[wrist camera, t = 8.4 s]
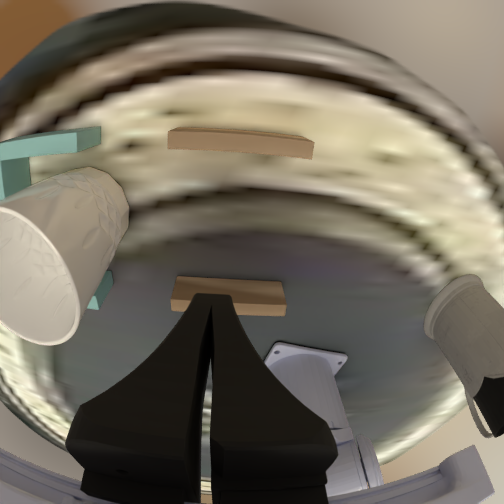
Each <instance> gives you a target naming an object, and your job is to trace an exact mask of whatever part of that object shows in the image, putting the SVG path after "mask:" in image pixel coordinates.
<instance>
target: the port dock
mask: <svg viewBox="0 0 504 504" xmlns="http://www.w3.org/2000/svg"><path fill="white" fill-rule="evenodd" d="M98 144H101V127H90V128H79V129H69V130H60V131H53V132H45V133H38V134H32V135H26V136H20V137H15V138H12V139H9V140H5V141H2V142H0V200H2V199H4V198H6V197H8V196H10V195H12V194H14V193H16V192H18V191H20V190H22V189H24V188H26V187H28V186H30V185H31V181H30V170H29V158H28V157H32V156H42V155H52V154H63V153H77V152H79V151H82V150H85V149H87V148H90V147H93V146H95V145H98ZM112 285H113V278H112V272H111V271H106V272H105V274H104V276H103V279H102V281H101V282H100V284H99V286H98V288H97V289H96V291H95V293H94V295H93V297H92V299H91V301H90V303H89V305H88V307H87V308H89V309H97V310H99V309H100V307H101V305H102V303H103V301H104V300H105V298H106V296H107V294H108V292H109V291H110V289H111V287H112Z"/></svg>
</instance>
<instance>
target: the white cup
mask: <svg viewBox="0 0 504 504" xmlns="http://www.w3.org/2000/svg"><path fill="white" fill-rule="evenodd" d="M128 223H129V205H128V203H127V200H126V198H125V195H124V192H123V190H122V188H121V186H120V185H119V184H118V183H117V182H116V181H115V180H114V179H113V178H112V177H111V176H110V175H109V174H108V173H106V172H103V171H100V170H98V169H95V168H92V167H84V168H79V169H73V170H70V171H68V172H65V173H62V174H58V175H55V176H52V177H50V178H47V179H45V180H42V181H39V182H37V183H35V184H33V185H30V186H28V187H26V188H24V189H22V190H20V191H18V192H16V193H14V194H12V195H10V196H8V197H6V198H4V199H2V200H0V323H1V324H2V325H4V326H5V327H6V328H7V329H8V330H10V331H11V332H13V333H14V334H16V335H17V336H19V337H21V338H23V339H25V340H27V341H30V342H33V343H36V344H40V345H57V344H61V343H63V342H65V341H67V340H68V339H70V338H71V337H72V336H73V334H74V333H75V331H76V330H77V328H78V325H79V323H80V321H81V319H82V317H83V315H84V313H85V311H86V309H87V307H88V305H89V303H90V301H91V299H92V297H93V295H94V293H95V291H96V289H97V288H98V286H99V284H100V282H101V281H102V279H103V276H104V274H105V272H106V270H107V268H108V267H109V265H110V263H111V260H112V259H113V257H114V255H115V253H116V248H117V247H118V245H119V243H120V241H121V240H122V238H123V236H124V234H125V232H126V231H127V229H128Z"/></svg>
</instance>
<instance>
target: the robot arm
mask: <svg viewBox="0 0 504 504" xmlns="http://www.w3.org/2000/svg"><path fill="white" fill-rule="evenodd" d="M210 359H211V367H212V383H213V389H212V407H211V424H210V453H211V491H212V502H213V504H479V503H481V502H483V501H484V500H486V499H487V498H489V497H490V496H492V495H493V494H494V492H495V491H494V489H493V486H492V483H491V481H490V479H489V476H488V474H487V471H486V469H485V467H484V465H483V462H482V460H481V458H480V456H479V453H478V451H477V449H476V447H475V445H472V446H470V447H468V448H465V449H464V450H461V451H459V452H457V453H455V454H453V455H451V456H449V457H448V458H446V459H445V460H444V461H443V462H441V463H440V465H439V466H437V467H434V468H431V469H429V470H426V471H423V472H421V473H418V474H415V475H412V476H409V477H406V478H403V479H400V480H397V481H394V482H390V483H387V484H384V482H383V478H382V474H381V470H380V466H379V463H378V460H377V456H376V453H375V450H374V447H373V445H372V442H371V440H370V438H368V437H365V436H363V435H362V434H360V435H358V436H356V439H357V443H358V450H359V453H360V457H361V459H360V457H359V454H358V450H357V447H356V443H355V440H354V437H353V433H352V430H351V427H349V423H348V420H347V417H346V413H345V410H344V407H343V404H342V400H341V397H340V394H339V391H338V387H337V384H336V381H335V378H334V375H335V374H336V373H337V372H338V371H339V369H340V368H341V367H342V366H343V364H344V363H345V362H346V360H347V355H346V354H341V353H335V352H329V351H323V350H318V349H312V348H307V347H301V346H296V345H291V344H286V343H281V342H278V343H275V344H274V345H273V347H272V349H271V350H270V352H269V354H268V356H267V357H266V359H265V361H264V362H263V360H262V359H261V358H260V356H259V355H258V353H257V352H256V350H255V349H254V347H253V345H252V344H251V342H250V340H249V338H248V337H247V335H246V333H245V331H244V329H243V327H242V325H241V323H240V321H239V318H238V316H237V313H236V311H235V308H234V305H233V301H232V297H231V296H230V295H227V294H209V293H196V294H195V295H194V296H193V298H192V300H191V302H190V304H189V306H188V307H187V309H186V311H185V312H184V314H183V315H182V317H181V318H180V320H179V321H178V322H177V324H176V325H175V327H174V328H173V329H172V331H171V332H170V333H169V334H168V336H167V337H166V338H165V339H164V341H163V342H162V343H161V344H160V345H159V346H158V347H157V349H156V350H155V351H154V352H153V353H152V354H151V355H150V356H149V357H148V358H147V359H146V360H145V361H144V362H142V363H141V364H140V365H139V366H138V367H137V368H136V369H135V370H133V371H132V372H131V373H130V374H129V375H127V376H126V377H125V378H123V379H122V380H121V381H119V382H118V383H116V384H115V385H114V386H112V387H111V388H109V389H108V390H106V391H105V392H103V393H102V394H100V395H98V396H96V397H95V398H93V399H91V400H89V401H88V402H86V403H84V404H82V405H80V407H79V409H78V411H77V413H76V415H75V417H74V419H73V421H72V424H71V427H70V430H69V433H68V436H67V439H66V442H65V445H66V448H67V450H68V451H69V453H70V454H71V455H72V456H73V457H74V458H75V459H76V461H77V462H78V463H79V464H80V465H81V466H82V467H83V468H84V469H85V470H84V474H83V478H82V481H79V480H76V479H72V478H69V477H66V476H64V475H61V474H58V473H55V472H53V471H50V470H47V469H45V468H43V467H40V466H38V465H35V464H33V463H31V462H28V461H26V460H24V459H22V458H20V457H17V456H15V455H13V454H11V453H9V452H7V451H5V450H3V449H1V448H0V504H203V503H201V436H202V412H203V403H204V396H205V390H206V384H207V377H208V371H209V365H210ZM367 482H368V486H369V489H368V486H367Z"/></svg>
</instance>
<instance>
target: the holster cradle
mask: <svg viewBox="0 0 504 504" xmlns="http://www.w3.org/2000/svg"><path fill="white" fill-rule="evenodd" d="M313 148H314V142H313V141H311V140H309V139H306V138H304V137H301V136H293V135H285V134H276V133H267V132H256V131H245V130H231V129H213V128H181V127H178V128H175V129H173V130H170V131H168V149H190V150H214V151H231V152H245V153H258V154H269V155H279V156H288V157H297V158H305V159H312V155H313ZM196 293H209V294H227V295H230V296H231V297H232V301H233V305H234V308H235V311H236V313H237V315H260V316H285V312H286V307H287V304H286V300H285V296H284V292H283V288H282V284H281V282H279V281H257V280H237V279H218V278H201V277H185V276H177V279H176V282H175V286H174V289H173V293H172V296H171V310H172V311H184V312H185V311H186V309H187V307H188V306H189V304H190V302H191V300H192V298H193V296H194V295H195V294H196Z"/></svg>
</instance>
